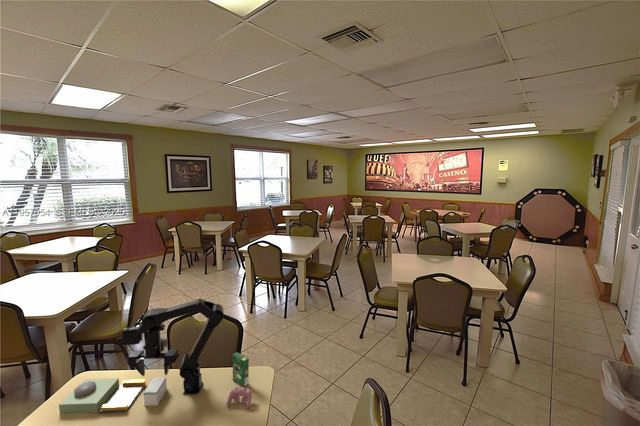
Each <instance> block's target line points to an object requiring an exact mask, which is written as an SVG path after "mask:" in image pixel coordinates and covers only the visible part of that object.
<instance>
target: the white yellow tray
mask: <svg viewBox="0 0 640 426" xmlns="http://www.w3.org/2000/svg"><path fill="white" fill-rule="evenodd" d="M146 381H147V380H146V379H129V380H128V379H125V380H123V381H122V382H121V384H119V387H118V389H117V390H116V391H115V392H114V393H113V395H112V396H111V397H110V398H109V399H108V400H107V402H106V403H105V404H104V405H103V406H102V408H101V409H100V410H99V411H98V414H109V413H110V414H113V413H114V414H115V413H117V414H118V413H126V412H128V410H129V409H130V407H131V406H132V405H133V403H134V402H135V400H136V399H137V397H138V396H139V395H140V393H141V392H142V391H143V389H144V388H145V386H146V385H147V384H146Z"/></svg>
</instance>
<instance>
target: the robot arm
mask: <svg viewBox="0 0 640 426" xmlns="http://www.w3.org/2000/svg"><path fill="white" fill-rule="evenodd" d="M195 312H198V313H200V314H201V315H203V316H204V317H205V318H207V319H206V322H205V324H204V326H203V328H202V329H201V332H200V333H199V336H198V337H197V339H196V341H195V343H194V344H193V347H192V348H191V350H190V352H188V353H186V352H185V353H184V355H183V357H182V358H181V360H180V363H179V368H178V370H179V376H180V378H182V379H183V381H182V382H183V385H182V387H183V390H184V391H182V392H183V393H182V394H183V395H195V394H196V395H197V394H199V393H200V392H201V389H202V387H203V385H204V382H203V379H202V372H201V364H200V363H198V360H199V358H200V355H201V354H202V352H203V350H204V349H205V347H206V344H207V342H208V341H209V338H211V335H212V333H213V331H214V330H215V329H216V328H217V327H218V326H219V325H220V324H221V322H222V321H223V319H224V317H225V315H224V314H225V313H224V312H225V311H224V307H223V305H222V304H220V303H217V304H216V303H215V302H212V301H209V300H208V301H207V300H204V299H203V298H198V299H195V300H192V301H188V302H184V303H182V304H177V305H175V306H170V307H164V308H163V307H155V308H150V309H147V310H146V311H145V314H144V316H143V317H142V320H141V322H140V323H139V326H132V327H124V328H123V329H122V333H121V334H122V336H121V341H120V345H121V347H127V346H132V345H133V346H134V345H138V344H141V342H142V341H143V340H144V346H142V349H139V350H138V349H137V350H133V351H132V352H131V354H130V355H128V357H127V358H126V364H127V365H130V366H131V367H133V368H134V369H135V370H136V371H137V372H138V373H139V374H140V375H141V376H142V377H145V375H146V371H145V370H146V369H145V360H155V359H157V360H158V359H163V362H164V363H163V370H164V375H165V376H167V375H168V373H169V370H170V367H171V365H172V364H174V363H175V362H177V359H178V358H179V356H180V350H179V349H177V348H176V349H175V348H173V349H172V348H170V349H168V351H167V352H163V351H164V350H165V348H167V347H168V338H161V331H164V330H165V327H166V325H165V324H164V323H165V322H166V321H169V320H172V319H175V318H179V317H182V316H185V315H188V314H189V315H190V314H192V313H195Z"/></svg>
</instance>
